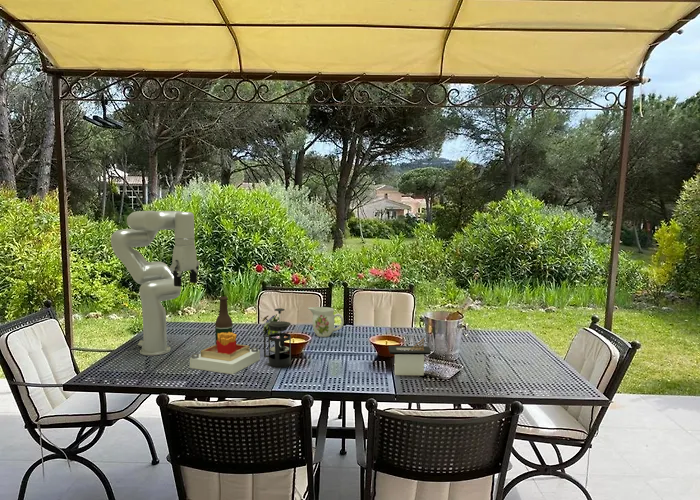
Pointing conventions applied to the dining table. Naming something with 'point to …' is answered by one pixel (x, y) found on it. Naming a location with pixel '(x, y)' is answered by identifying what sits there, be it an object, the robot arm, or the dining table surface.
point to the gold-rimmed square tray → (225, 359)
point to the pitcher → (324, 321)
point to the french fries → (226, 342)
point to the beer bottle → (223, 319)
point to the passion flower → (266, 326)
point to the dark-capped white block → (409, 358)
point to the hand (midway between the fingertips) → (185, 284)
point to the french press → (278, 344)
